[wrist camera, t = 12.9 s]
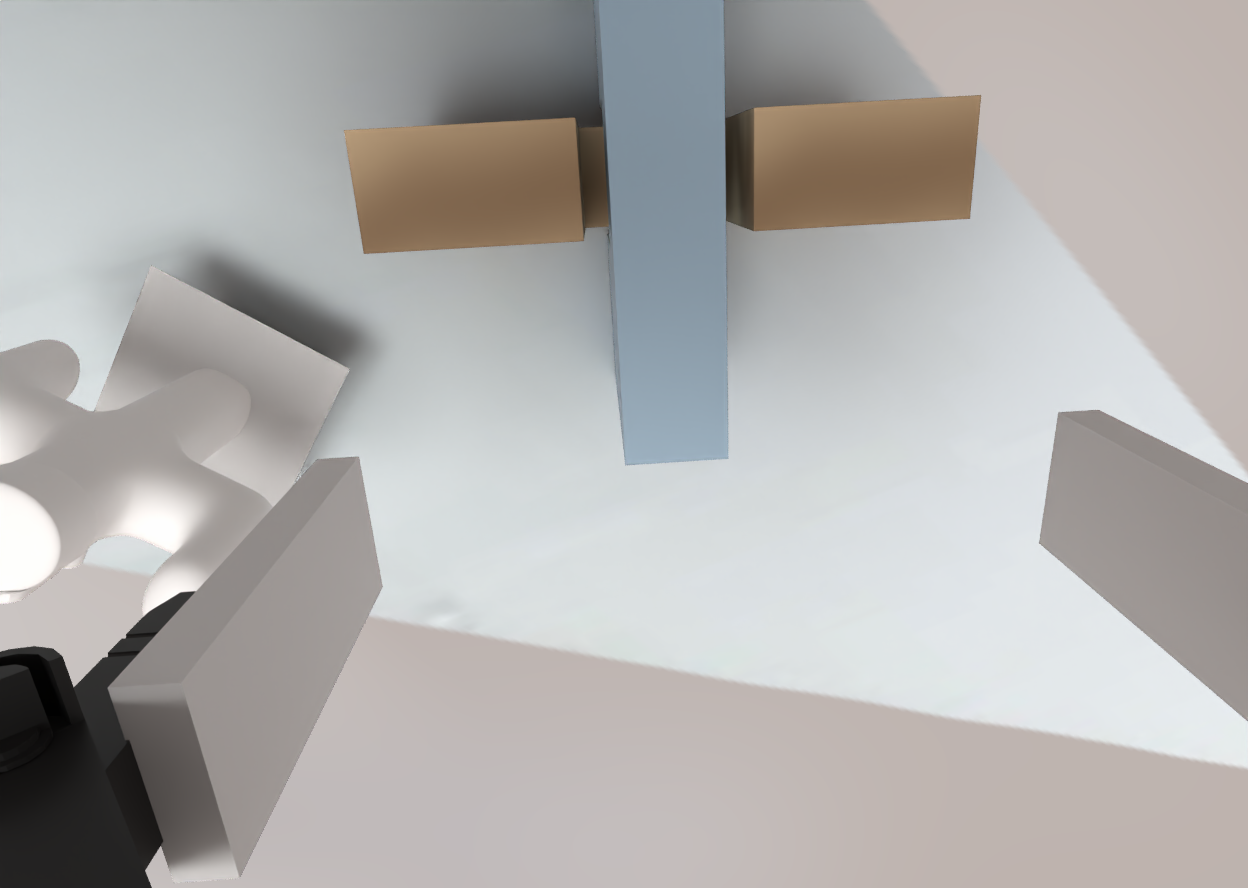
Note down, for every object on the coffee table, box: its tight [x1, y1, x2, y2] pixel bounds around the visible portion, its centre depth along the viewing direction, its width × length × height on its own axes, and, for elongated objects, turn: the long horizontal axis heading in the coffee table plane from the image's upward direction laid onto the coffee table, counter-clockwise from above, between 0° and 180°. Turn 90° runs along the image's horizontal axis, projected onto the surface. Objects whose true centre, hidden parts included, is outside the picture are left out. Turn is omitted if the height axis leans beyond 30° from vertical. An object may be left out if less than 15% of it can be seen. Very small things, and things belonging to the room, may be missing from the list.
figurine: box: [0, 265, 350, 617], centre depth 24 cm, size 7×9×15 cm
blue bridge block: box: [594, 0, 728, 465], centre depth 25 cm, size 16×3×10 cm, turn 3°
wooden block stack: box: [344, 95, 981, 254], centre depth 25 cm, size 3×16×10 cm, turn 93°
